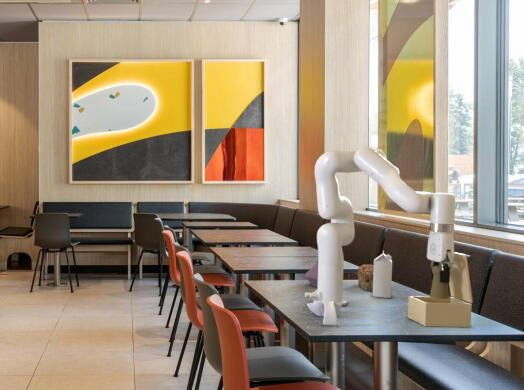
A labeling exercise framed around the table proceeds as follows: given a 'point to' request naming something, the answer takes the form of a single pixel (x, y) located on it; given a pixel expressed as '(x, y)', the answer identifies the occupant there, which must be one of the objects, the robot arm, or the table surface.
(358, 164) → the robot arm
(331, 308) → the spoon rest
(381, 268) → the milk carton
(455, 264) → the lid
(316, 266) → the flask
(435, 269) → the cork
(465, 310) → the chest
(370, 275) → the bread
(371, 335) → the table surface
